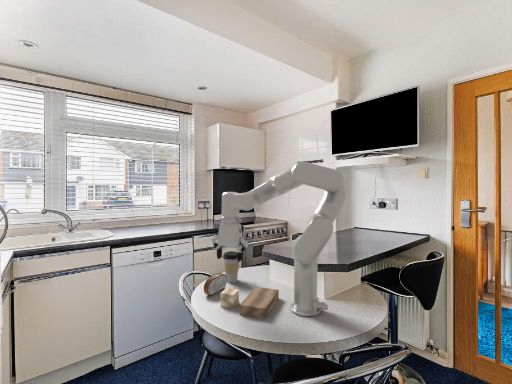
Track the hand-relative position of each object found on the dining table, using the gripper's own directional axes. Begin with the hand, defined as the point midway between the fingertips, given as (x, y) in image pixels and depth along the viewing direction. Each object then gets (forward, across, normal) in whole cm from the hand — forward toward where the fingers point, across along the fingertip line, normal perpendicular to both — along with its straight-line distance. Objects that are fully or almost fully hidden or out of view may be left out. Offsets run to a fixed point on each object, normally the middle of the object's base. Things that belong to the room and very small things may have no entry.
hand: (229, 259), depth 123 cm
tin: (+20, +12, -10) cm, 25 cm away
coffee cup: (+20, +11, -26) cm, 34 cm away
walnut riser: (+19, -14, -3) cm, 24 cm away
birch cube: (+20, -1, 0) cm, 20 cm away
